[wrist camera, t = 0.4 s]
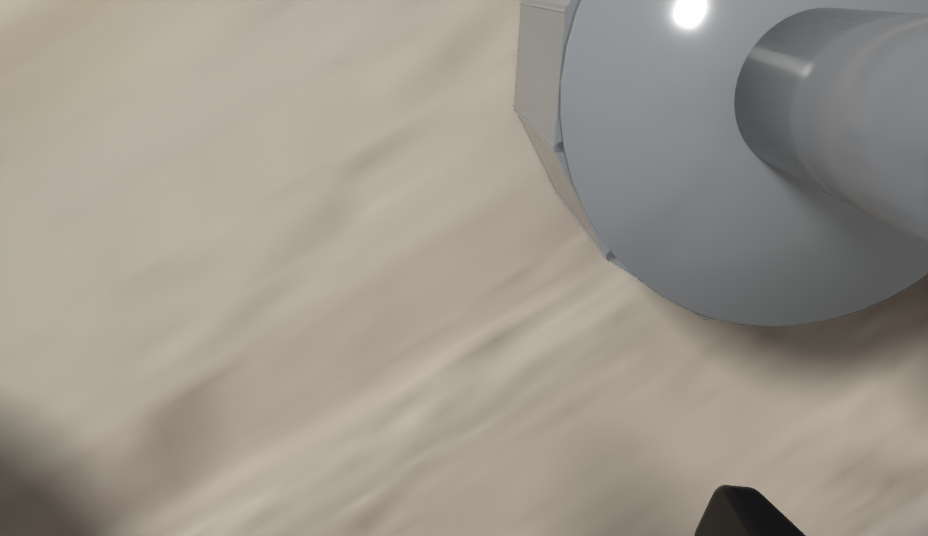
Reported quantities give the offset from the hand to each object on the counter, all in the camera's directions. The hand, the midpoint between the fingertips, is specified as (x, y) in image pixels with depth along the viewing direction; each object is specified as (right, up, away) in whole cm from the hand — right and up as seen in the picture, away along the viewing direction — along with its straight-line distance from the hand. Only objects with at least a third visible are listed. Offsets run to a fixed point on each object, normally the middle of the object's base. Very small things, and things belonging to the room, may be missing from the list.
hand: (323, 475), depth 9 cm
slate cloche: (+8, +8, +13) cm, 17 cm away
